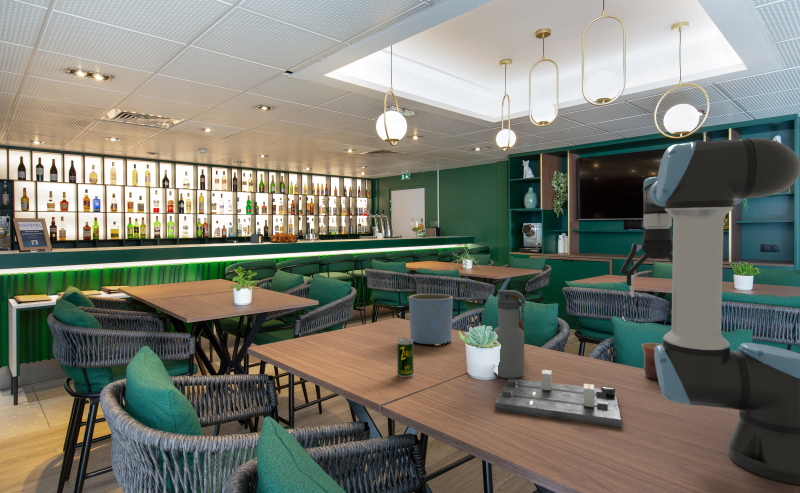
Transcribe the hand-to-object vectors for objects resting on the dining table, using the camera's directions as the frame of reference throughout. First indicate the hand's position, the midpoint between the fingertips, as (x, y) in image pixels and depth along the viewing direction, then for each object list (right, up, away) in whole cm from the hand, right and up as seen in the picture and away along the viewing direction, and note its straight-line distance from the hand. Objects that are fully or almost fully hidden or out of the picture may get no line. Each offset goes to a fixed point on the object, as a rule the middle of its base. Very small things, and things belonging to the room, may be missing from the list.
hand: (657, 297), depth 136 cm
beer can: (-77, -27, +11) cm, 83 cm away
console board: (-36, -27, -14) cm, 47 cm away
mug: (+4, -27, +5) cm, 28 cm away
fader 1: (-37, -25, -9) cm, 45 cm away
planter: (-65, -26, +58) cm, 92 cm away
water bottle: (-43, -27, +11) cm, 52 cm away
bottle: (-37, -27, +28) cm, 53 cm away
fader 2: (-30, -25, -21) cm, 44 cm away
